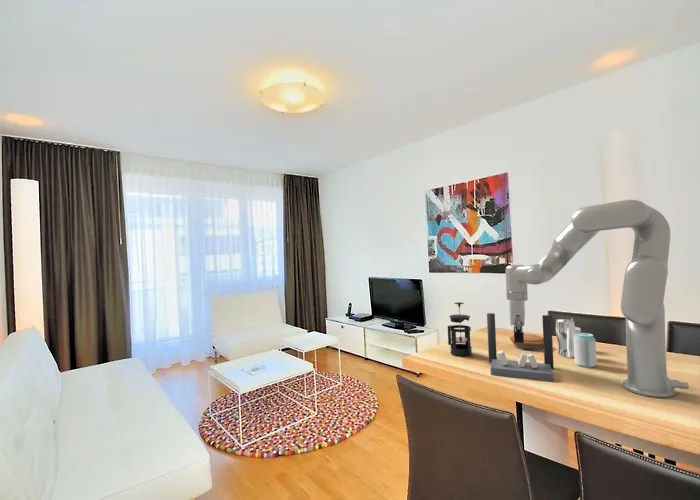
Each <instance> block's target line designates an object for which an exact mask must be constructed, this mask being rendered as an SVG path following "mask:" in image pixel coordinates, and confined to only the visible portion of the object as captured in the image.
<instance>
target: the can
mask: <svg viewBox="0 0 700 500" xmlns="http://www.w3.org/2000/svg"><path fill="white" fill-rule="evenodd" d="M596 342H597V341H596V338H595V337H594V334H592V333H590V332H589V333H587V332H580V333H576V334H575V336H574V363H575V364H576V365H577V366H579V367H583V368H588V369H589V368H590V369H591V368H594V367H596V366H598V365H597V364H598V363H597V343H596Z"/></svg>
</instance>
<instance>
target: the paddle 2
mask: <svg viewBox="0 0 700 500" xmlns="http://www.w3.org/2000/svg"><path fill="white" fill-rule="evenodd" d="M526 353H527V352H526ZM527 356H528V357H527V359H528V362H530V363H531V366H532V368H537V367H538V365H537V363H538V362H537V360H536V358H535V356H534V353H533V352H528V353H527Z"/></svg>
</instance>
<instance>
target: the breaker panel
mask: <svg viewBox="0 0 700 500" xmlns="http://www.w3.org/2000/svg"><path fill="white" fill-rule="evenodd" d="M507 361H508V364H507V365H502V363H501V361H500V359H498V358H497V359H492V363H490V364H491V365H490V375H491V376H492V375H493V376H501V377H509V378H518V379H519V378H520V379H529V380H538V381H539V380H540V381H546V382H548V381H549V382H554V373H553V371H552V370H553V369H551V366H550V364H545V363H541V362H540V363H539V362H537V365H538V367H537V368H532V366H531V363H530V361H526V362H525V365H524V368H523V367H521V366H519V365H518V361H519V360H518V361H517V360H508V359H507Z"/></svg>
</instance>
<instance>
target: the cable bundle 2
mask: <svg viewBox="0 0 700 500" xmlns="http://www.w3.org/2000/svg"><path fill="white" fill-rule="evenodd" d="M541 316H542V319H541V320H542V336H543V337H542V338H543V341H544V345H543V356H544V357H543V359H544V360H543V362H544V363H543V364H550V366H551V370H554V368H555V367H554V347H553V346H554V343H553V325H552V324H553V322H552V315H549V314H543V315H541Z"/></svg>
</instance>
